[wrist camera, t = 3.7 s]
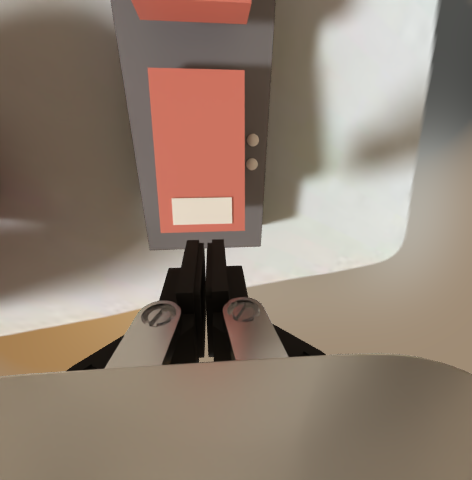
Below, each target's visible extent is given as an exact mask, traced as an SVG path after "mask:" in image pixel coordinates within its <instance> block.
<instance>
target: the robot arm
mask: <svg viewBox="0 0 472 480" xmlns="http://www.w3.org/2000/svg"><path fill="white" fill-rule="evenodd" d="M206 315H207V333H208V334H207V335H208V355H209V357H214V362H202V363H201V362H200V363H199V358H201V357H204V350H205V321H206ZM0 480H472V374H470V373H468V372H466V371H464V370H461V369H459V368H456V367H454V366H451V365H448V364H445V363H442V362H438V361H433V360H430V359H425V358H422V357H416V356H409V355H401V354H385V353H371V354H337V355H326V354H324V353H323V352H322V351H320V350H318V349H316V348H315V347H312V346H311V345H309V344H308V343H305V342H304V341H302V340H300V339H298V338H297V337H295V336H293V335H291V334H290V333H288V332H286V331H284V330H282V329H280V328H279V327H277V326H275V325H274V324H272V323H271V321H270V319H269V317H268V315H267V313H266V311H265V309H264V307H263V306H262V304H261V303H259V302H258V301H257V300H255V299H252V298H248V295H247V289H246V284H245V279H244V274H243V269H242V266H226V258H225V247H224V239H212V243H207V266H206V275H205V254H204V243H199V240H187V242H186V247H185V252H184V256H183V261H182V266H181V268H169V270H168V273H167V276H166V279H165V283H164V286H163V290H162V293H161V296H160V300H159V301H157V302H153V303H150V304H148V305H146V306H145V307H143V308H142V309H141V310H140V311H139V312H138V314H137V316H136V317H135V319H134V320H133V322H132V324H131V325H130V327H129V329H128V330H127V332H126V334H125V335H123V336H122V337H120V338H118V339H117V340H115V341H113V342H112V343H110V344H108V345H107V346H105V347H103V348H102V349H100V350H99V351H97V352H95V353H94V354H92V355H90V356H89V357H87V358H85V359H84V360H82V361H81V362H79V363H77V364H75V365H74V366H72V367H71V368H69V369H68V370H67V371H65V372H52V373H37V374H22V375H13V376H3V377H0Z"/></svg>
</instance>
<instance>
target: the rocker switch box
mask: <svg viewBox="0 0 472 480" xmlns="http://www.w3.org/2000/svg"><path fill="white" fill-rule="evenodd" d="M111 6H112V12H113V19H114V25H115V32H116V38H117V44H118V51H119V57H120V63H121V70H122V76H123V82H124V89H125V95H126V101H127V108H128V114H129V121H130V127H131V133H132V140H133V146H134V152H135V159H136V165H137V171H138V178H139V184H140V190H141V197H142V203H143V210H144V216H145V222H146V229H147V235H148V241H149V248H150V250H170V249H185V247H186V242H187V240H199V243H204V248H207V243H212V239H224V247H225V248H229V247H259V246H261V231H262V215H263V198H264V182H265V165H266V149H267V132H268V116H269V99H270V83H271V66H272V50H273V33H274V17H275V0H251V7H250V12H249V16H248V21H247V24H226V23H203V22H179V21H156V20H140V19H139V17H138V14H137V12H136V10H135V8H134V6H133V3H132V1H131V0H111ZM148 68H183V69H220V70H245V231H218V232H182V233H161V230H160V217H159V205H158V192H157V180H156V167H155V155H154V142H153V130H152V117H151V105H150V92H149V80H148Z"/></svg>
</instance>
